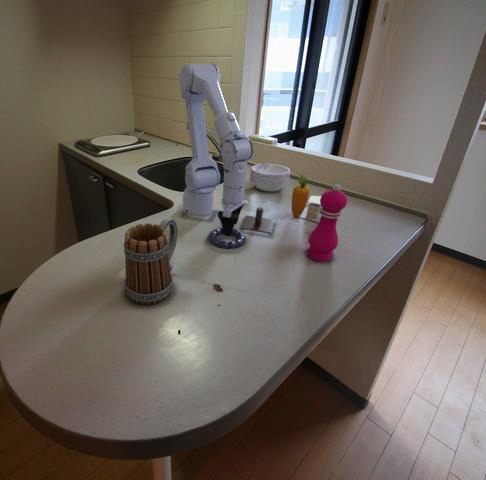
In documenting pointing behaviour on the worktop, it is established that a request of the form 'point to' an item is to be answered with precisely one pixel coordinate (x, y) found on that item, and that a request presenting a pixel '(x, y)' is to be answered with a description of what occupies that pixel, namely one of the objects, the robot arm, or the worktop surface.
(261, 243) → the worktop surface
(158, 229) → the mug
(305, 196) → the carrot
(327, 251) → the pepper mill
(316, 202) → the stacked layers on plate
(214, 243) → the ring
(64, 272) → the worktop surface
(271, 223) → the post
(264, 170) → the paper bowls
